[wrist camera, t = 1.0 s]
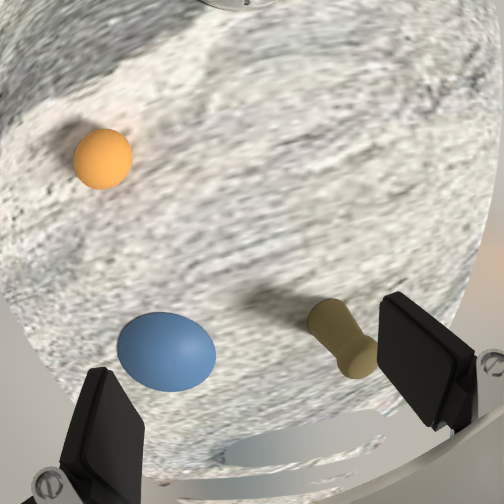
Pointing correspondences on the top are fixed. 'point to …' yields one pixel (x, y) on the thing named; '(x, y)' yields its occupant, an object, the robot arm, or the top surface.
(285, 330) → the top surface
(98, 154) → the ball
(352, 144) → the top surface
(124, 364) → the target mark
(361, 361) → the olive chess pawn
